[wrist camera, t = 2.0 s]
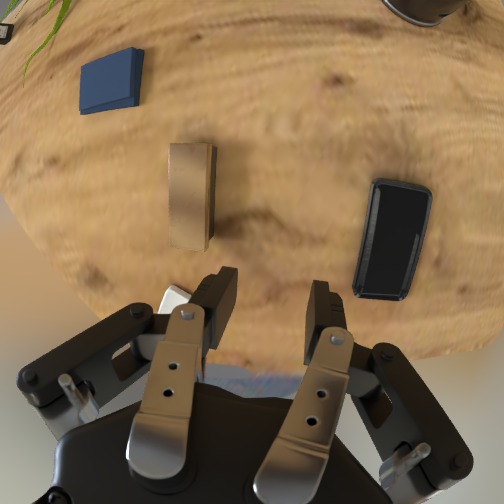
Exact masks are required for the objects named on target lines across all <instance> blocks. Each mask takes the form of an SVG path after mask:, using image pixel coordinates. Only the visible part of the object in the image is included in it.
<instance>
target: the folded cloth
mask: <svg viewBox="0 0 504 504" xmlns="http://www.w3.org/2000/svg"><path fill="white" fill-rule="evenodd" d="M143 57H144V50H141V49H136V48H133V47H131V48H128V49H125V50H122V51H119V52H116V53H113V54H111V55H108V56H105V57H103V58H100V59H97V60H95V61H93V62H90V63H88V64H85V65H83V66H81V78H80V100H79V111H80V115H86V114H91V113H96V112H102V111H107V110H113V109H120V108H127V107H135V106H139V96H140V84H141V74H142V65H143Z"/></svg>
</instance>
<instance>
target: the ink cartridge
mask: <svg viewBox="0 0 504 504" xmlns="http://www.w3.org/2000/svg"><path fill="white" fill-rule="evenodd" d="M13 27H14V25H13V24H4V23H0V44H1V45H5V44H7V43H8V42H9V41H10V39H11V35H12V31H13Z"/></svg>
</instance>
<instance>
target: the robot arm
mask: <svg viewBox="0 0 504 504" xmlns="http://www.w3.org/2000/svg"><path fill="white" fill-rule="evenodd" d="M468 1H470V0H382V2H383V3H384V4H385V5H386V6H387V7H388V8H389V9H390V10H391V11H392V12H393V13H395V14H396V15H397V16H399V17H400V18H402V19H404V20H406V21H407V22H410V23H412V24H415V25H418V26H423V27H432V26H436V25H438V24H439V23H440V22H442V21H443V20H444V18H446V17H448V16H451V15H453V14H454V13H453V12H454V11H456V10H457V9H458V8H460V7H461V6H463V5H464V4H465V3H467V2H468ZM451 13H453V14H451ZM455 13H456V12H455ZM450 14H451V15H450ZM237 279H238V269H237V268H232V267H226V266H222V268H221V270H220V271H219V273H218V274H217V275H215V274H210V275H208V276H207V277H205V278H204V279H203V280H202V282H201V283H200V285H199V286H198V288H197V290H195V292H194V293H193V295H192V296H191V298H190V299H189V301H188V302H187V303H185V304H181V305H178V306H176V307H175V308H174V309H173V310H172V312H171V313H170V314H154V313H153V309H152V307H151V306H150V305H148V304H146V303H132V304H130V305H128V306H126V307H124V308H122V309H121V310H119V311H117V312H115V313H114V314H112V315H110V316H109V317H107V318H105V319H104V320H102V321H100V322H98V323H97V324H95V325H93V326H92V327H90V328H88V329H87V330H85V331H83V332H82V333H80V334H78V335H76V336H75V337H73V338H71V339H70V340H68V341H66V342H65V343H63V344H61V345H60V346H58V347H56V348H55V349H53V350H51V351H50V352H48V353H46V354H45V355H43V356H42V357H40V358H38V359H36V360H35V361H33V362H32V363H30V364H28V365H27V366H25V367H24V368H22V369H21V370H20V372H19V373H18V375H17V378H16V379H17V380H16V382H17V386H18V388H19V389H20V391H21V392H22V393H23V395H24V396H25V397H26V399H27V401H28V403H29V404H30V405H31V407H32V408H33V409H34V410H35V412H36V413H37V414H38V415H39V417H40V418H41V419H42V420H43V421H44V422H45V423H46V425H47V426H48V428H49V429H50V430H51V432H52V434H53V435H54V436H55V438H56V439H57V441H58V443H57V446H56V448H55V454H54V473H53V479H52V483H51V486H50V488H49V490H48V491H47V492H46V493H45V494H44V495H43V496H42V497H41V498H39V499H38V500H37V501H35V502H33V503H32V504H421V503H423V502H425V501H427V500H429V499H431V498H432V497H434V496H436V495H438V494H439V493H441V492H443V491H444V490H446V489H448V488H450V487H451V486H453V485H455V484H456V483H458V482H459V481H461V480H462V479H464V478H465V477H467V476H468V475H469V473H470V472H471V470H472V468H473V456H472V453H471V452H470V450H469V448H468V447H467V445H466V444H465V442H464V440H463V439H462V437H461V436H460V434H459V433H458V431H457V430H456V428H455V426H454V425H453V423H452V422H451V420H450V419H449V417H448V416H447V414H446V413H445V411H444V410H443V408H442V407H441V406H440V404H439V403H438V401H437V400H436V398H435V397H434V395H433V394H432V393H431V391H430V390H429V388H428V387H427V386H426V384H425V383H424V381H423V380H422V379H421V377H420V376H419V375H418V373H417V372H416V370H415V369H414V368H413V366H412V365H411V364H410V362H409V361H408V360H407V358H406V357H405V356H404V354H403V353H402V352H401V350H400V349H399V348H398V347H396V346H395V345H393V344H390V343H378V344H376V345H375V346H374V347H373V349H369V348H366V347H363V346H361V345H359V344H357V343H355V342H354V337H353V335H352V334H351V333H350V332H349V331H348V330H347V325H346V319H345V313H344V307H343V302H342V299H341V297H340V296H339V295H338V294H337V293H334V292H329V284H328V282H326V281H319V280H313V283H312V287H311V292H310V297H309V301H308V306H307V312H306V326H305V349H304V365H308V367H307V370H306V372H305V375H304V377H303V380H302V382H301V384H300V387H299V389H298V391H297V394H296V396H295V399H294V400H292V399H284V398H277V397H267V398H243V397H240V396H238V395H235V394H233V393H231V392H229V391H226V390H224V389H222V388H220V387H218V386H213V385H209V384H205V371H206V354H207V352H208V350H209V348H210V349H215V350H216V349H217V347H218V345H219V342H220V340H221V337H222V335H223V333H224V330H225V328H226V325H227V323H228V321H229V318H230V316H231V313H232V311H233V309H234V306H235V302H236V296H237ZM128 343H130V348H128V349H127V350H125V351H124V352H122V353H121V354H120V355H118V356H117V357H115V358H114V359H112V356H113V354H114V353H115V352H116V351H117V350H119V349H120V348H122V347H123V346H124V345H126V344H128ZM148 371H149V375H148V378H147V382H146V386H145V390H144V394H143V397H142V400H141V401H139V402H136V403H134V404H132V405H129V406H127V407H125V408H123V409H120V410H118V411H116V412H113V413H111V414H109V415H106V416H104V417H102V418H99V419H96V418H97V416H98V414H99V409H100V408H101V407H102V406H104V405H105V404H106V403H108V402H109V401H110V400H112V399H113V398H114V397H116V396H117V395H118V394H120V393H121V392H122V391H124V390H125V389H126V388H128V387H129V386H130V385H131V384H133V383H134V382H135V381H137V380H138V379H139V378H141V377H142V376H143V375H144V374H146V373H147V372H148ZM385 392H386V393H385ZM346 393H347V394H350V395H351V399H352V401H353V403H354V405H355V406H356V409H357V411H358V413H359V415H360V417H361V419H362V420H363V423H364V425H365V426H366V429H367V431H368V433H369V435H370V437H371V439H372V441H373V443H374V445H375V447H376V449H377V451H378V453H379V455H380V457H381V459H382V461H383V463H382V465H381V467H380V470H379V477H380V478H379V481H380V483H381V486H380V485H379V484H378V483H377V482H376V481H375V480H374V479H373V478H372V476H371V475H370V474H369V473H368V472H367V471H366V470H365V468H364V467H363V466H362V465H361V464H360V463H359V461H358V460H357V459H356V458H355V457H354V456H353V455H352V453H351V452H350V451H349V450H348V449H347V448H346V446H345V445H344V444H343V443H342V442H341V440H340V439H339V438H338V437H337V436H336V434H335V430H336V427H337V423H338V420H339V417H340V413H341V409H342V405H343V401H344V398H345V394H346ZM386 394H387V395H388V396H387V395H386ZM388 397H389V398H388ZM389 399H390V400H391V401H390V400H389ZM391 402H392V403H391Z"/></svg>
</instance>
